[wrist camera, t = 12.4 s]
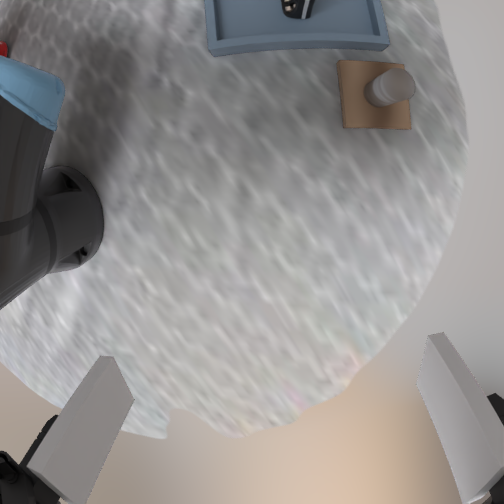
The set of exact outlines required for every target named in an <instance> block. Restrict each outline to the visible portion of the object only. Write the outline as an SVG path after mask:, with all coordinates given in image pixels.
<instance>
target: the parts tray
mask: <svg viewBox="0 0 504 504" xmlns="http://www.w3.org/2000/svg"><path fill="white" fill-rule="evenodd" d="M204 3H205V16H206V28H207V40H208V50H209V51H210V53H211V54H212V55H213V56H214V57H217V56H223V55H230V54H238V53H246V52H256V51H267V50H281V49H304V48H337V49H360V50H374V51H383V50H384V49H385V48H386V47H388V46H389V45H390V41H389V36H388V31H387V27H386V22H385V18H384V13H383V9H382V5H381V1H380V0H315V2H314V5H313V9H312V13H311V17H310V18H305V19H295V18H289V17H287V16H285V15H284V13H283V10H282V5H281V0H204Z"/></svg>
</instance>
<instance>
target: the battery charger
mask: <svg viewBox="0 0 504 504" xmlns="http://www.w3.org/2000/svg"><path fill="white" fill-rule="evenodd" d="M314 2H315V0H281V5H282V10H283V13H284V15H285V16H287V17H289V18H295V19H305V18H310V17H311V13H312V9H313V5H314Z"/></svg>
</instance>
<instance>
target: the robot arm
mask: <svg viewBox="0 0 504 504" xmlns="http://www.w3.org/2000/svg"><path fill="white" fill-rule="evenodd" d="M64 96H65V87H64V84H63V82H62V80H61V79H60V78H59V77H57V76H55V75H53V74H50V73H48V72H45V71H43V70H40V69H38V68H35V67H32V66H30V65H27V64H24V63H21V62H19V61H16V60H13V59H10V58H7V57H4V56H1V55H0V310H1V309H2V308H3V307H4V306H6V305H7V304H8V303H9V302H11V301H12V300H13V299H14V298H16V297H17V296H18V295H20V294H21V293H22V292H23V291H25V290H26V289H27V288H29V287H30V286H31V285H33V284H34V283H35V282H37V281H38V280H40V279H41V278H42V277H44V276H45V275H46V274H49V273H55V272H62V271H68V270H73V269H75V268H78V267H80V266H81V265H83V264H84V263H85V262H87V261H88V260H89V259H91V258H92V257H93V255H94V254H95V253H96V251H97V249H98V248H99V245H100V243H101V239H102V234H103V214H102V208H101V205H100V201H99V198H98V196H97V194H96V192H95V190H94V188H93V186H92V185H91V183H90V182H89V181H88V180H87V179H86V178H85V176H83V175H82V174H81V173H80V172H78V171H77V170H75V169H73V168H70V167H66V166H58V167H53V168H48V169H45V170H43V169H44V165H45V161H46V157H47V153H48V150H49V147H50V143H51V140H52V137H53V134H54V131H56V129H57V120H58V116H59V113H60V109H61V106H62V103H63V100H64ZM416 385H417V387H418V389H419V391H420V394H421V396H422V398H423V400H424V403H425V405H426V407H427V409H428V412H429V414H430V416H431V419H432V421H433V423H434V426H435V428H436V431H437V433H438V436H439V438H440V441H441V443H442V446H443V449H444V451H445V454H446V456H447V459H448V462H449V464H450V467H451V470H452V473H453V475H454V478H455V481H456V484H457V487H458V490H459V493H460V497H461V500H462V503H463V504H469V503H472V502H474V501H476V500H478V499H480V498H482V497H483V496H484V495H485V494H486V493H487V492H488V491H489V492H490V494H491V496H490V497H489V498H488V499H487V500H486V501H485V502H484V503H483V504H504V399H502V398H501V397H500V396H498V395H497V394H496V393H494V394H492V395H489V396H487V397H486V395H485V393H484V392H483V390H482V389H481V387H480V385H479V384H478V382H477V381H476V379H475V377H474V376H473V374H472V373H471V371H470V370H469V368H468V367H467V365H466V364H465V362H464V361H463V360H462V358H461V356H460V355H459V353H458V352H457V351H456V349H455V348H454V346H453V345H452V343H451V342H450V341H449V339H448V338H447V336H446V335H445V334H444V332H442V333H438V334H433V335H428V338H427V342H426V347H425V351H424V356H423V360H422V364H421V367H420V371H419V375H418V379H417V382H416ZM134 400H135V399H134V398H133V396H132V394H131V392H130V390H129V388H128V386H127V384H126V382H125V380H124V378H123V376H122V374H121V372H120V369H119V367H118V365H117V363H116V361H115V359H114V357H110V356H100V357H99V358H98V359H97V361H96V362H95V364H94V365H93V366H92V368H91V369H90V371H89V372H88V373H87V375H86V376H85V378H84V379H83V381H82V382H81V383H80V385H79V386H78V388H77V389H76V391H75V392H74V394H73V395H72V396H71V398H70V399H69V401H68V402H67V404H66V405H65V407H64V408H63V410H62V411H61V413H60V414H59V415H55V416H53V417H52V418H51V419H50V420H48V421H47V423H46V424H45V426H44V427H43V429H42V432H41V433H39V435H38V436H37V439H36V440H35V441H34V442H33V444H32V446H31V447H30V449H29V450H28V452H27V453H26V455H25V457H24V458H23V460H22V461H21V463H20V464H19V465H18V464H17V463H16V462H15V461H14V460H13V459H12V458H11V457H10V455H9V454H8V453H7V452H4V451H0V504H61V503H60V502H59V501H58V500H59V498H60V497H61V498H62V499H63V500H65V501H66V502H67V503H68V504H86V502H87V500H88V498H89V495H90V493H91V491H92V489H93V486H94V484H95V482H96V480H97V478H98V475H99V473H100V471H101V469H102V466H103V465H104V462H105V460H106V458H107V456H108V454H109V452H110V449H111V447H112V445H113V443H114V441H115V439H116V437H117V435H118V433H119V431H120V429H121V426H122V424H123V422H124V420H125V418H126V416H127V414H128V412H129V410H130V408H131V406H132V404H133V402H134Z"/></svg>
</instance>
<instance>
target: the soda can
mask: <svg viewBox="0 0 504 504" xmlns="http://www.w3.org/2000/svg"><path fill="white" fill-rule="evenodd" d="M7 52H8V48H7V44H6V43H5V42H4V41H0V55H1V56H4V57H7Z"/></svg>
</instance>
